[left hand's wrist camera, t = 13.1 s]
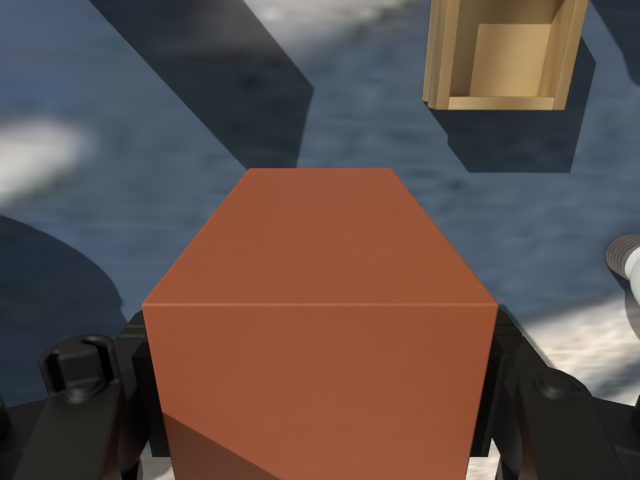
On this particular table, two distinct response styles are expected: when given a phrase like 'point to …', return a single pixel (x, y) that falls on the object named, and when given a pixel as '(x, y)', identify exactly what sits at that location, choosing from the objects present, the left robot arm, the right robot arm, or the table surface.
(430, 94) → the holder
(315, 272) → the reddish brown block
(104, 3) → the table surface
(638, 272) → the light bulb
